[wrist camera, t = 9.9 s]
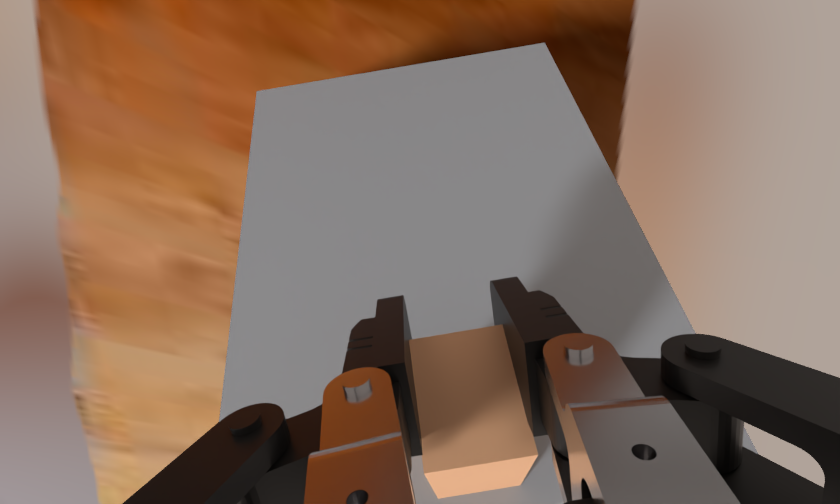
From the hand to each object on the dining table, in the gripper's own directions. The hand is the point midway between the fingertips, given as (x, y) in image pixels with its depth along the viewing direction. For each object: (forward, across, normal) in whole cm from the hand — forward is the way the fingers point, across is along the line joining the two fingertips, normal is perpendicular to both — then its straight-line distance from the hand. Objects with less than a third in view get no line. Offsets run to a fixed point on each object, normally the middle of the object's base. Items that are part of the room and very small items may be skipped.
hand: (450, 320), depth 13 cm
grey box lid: (+8, 0, -1) cm, 8 cm away
